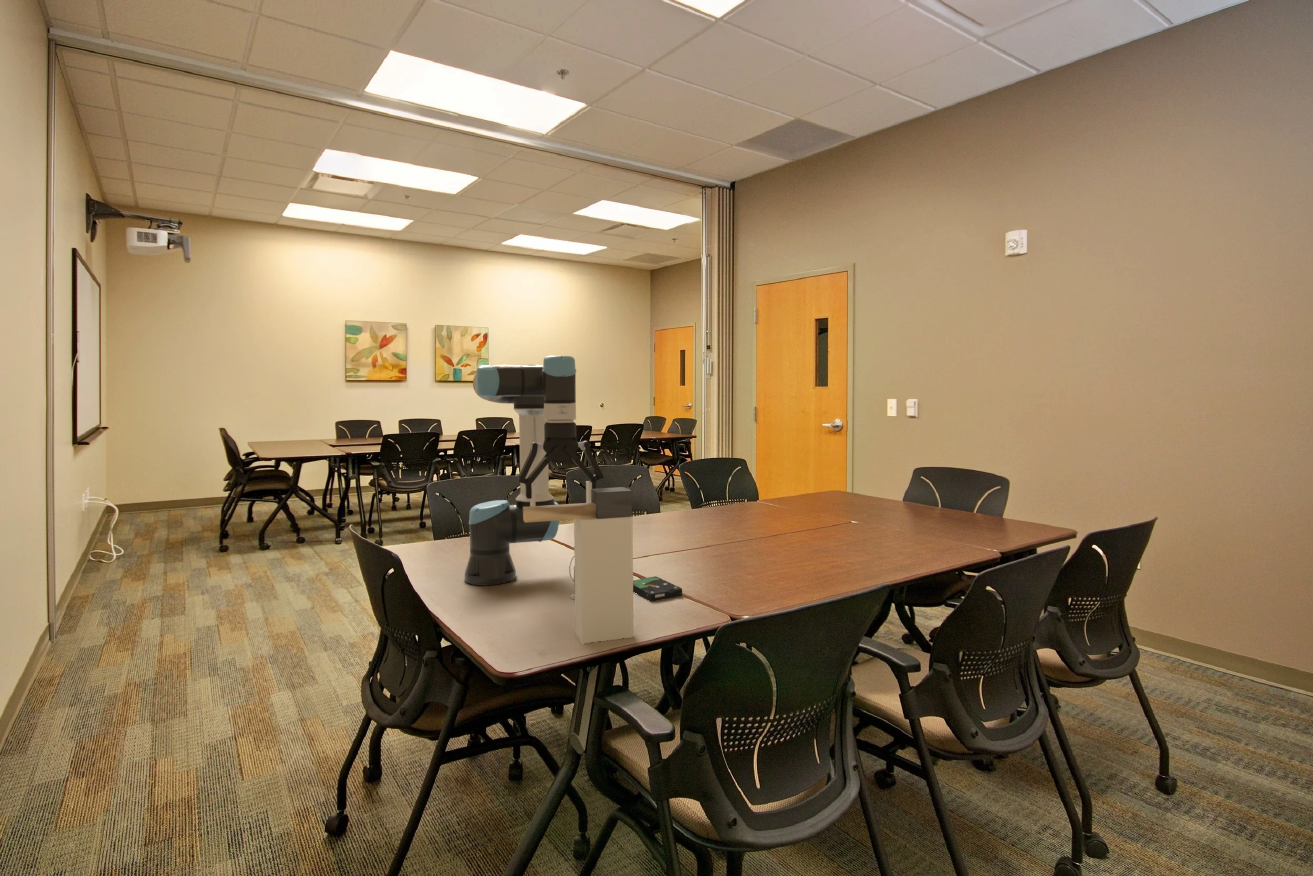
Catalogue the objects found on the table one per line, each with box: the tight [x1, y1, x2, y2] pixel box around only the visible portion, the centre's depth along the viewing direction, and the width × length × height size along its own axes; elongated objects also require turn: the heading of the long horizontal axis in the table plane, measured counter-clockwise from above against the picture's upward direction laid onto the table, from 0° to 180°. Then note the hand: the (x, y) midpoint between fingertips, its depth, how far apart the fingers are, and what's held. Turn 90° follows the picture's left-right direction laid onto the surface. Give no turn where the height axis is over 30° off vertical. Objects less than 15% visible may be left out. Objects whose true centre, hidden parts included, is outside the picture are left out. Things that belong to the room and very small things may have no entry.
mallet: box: [523, 486, 633, 523], centre depth 154 cm, size 6×24×6 cm, turn 109°
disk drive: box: [633, 575, 683, 603], centre depth 193 cm, size 10×3×15 cm
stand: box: [573, 516, 634, 645], centre depth 158 cm, size 7×12×28 cm, turn 109°
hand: (561, 510), depth 163 cm, fingers open, 13 cm apart
